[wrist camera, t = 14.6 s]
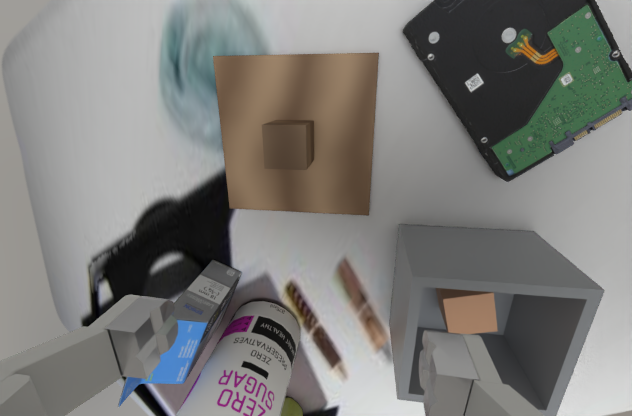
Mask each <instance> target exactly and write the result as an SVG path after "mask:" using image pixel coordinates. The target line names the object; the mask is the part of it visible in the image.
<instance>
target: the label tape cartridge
mask: <svg viewBox="0 0 632 416" xmlns="http://www.w3.org/2000/svg"><path fill="white" fill-rule="evenodd" d="M240 276H241V272H240V271H238V270H236V269H234V268H232V267H229V266H227V265H225V264H222V263H220V262H218V261H216V260H212V261H211V262H210V264H209V265H208V266H207V267H206V268H205V269H204V270H203V271H202V272H201V274H200V275H199V276H198V277H197V278H196V279H195V280H194V281H193V283H192V284H191V285H190V286H189V287H188V288H187V289H186V290H185V291H184V293H183V294H182V295H181V296H180V297H179V298H178V299H177V300H176V302H175V303H174V307H175V311H174V313H173V314H172V315H173V317H174V318H175V319H176V320H177V322H178V335H177V337H176V340H175V343H174V344H173V346H172V347H171V348H170V350H169V351H167V352H165V353H163V354H162V355H160V363H159V364H158V365H157V367H156V368H155V369H154V370H153V372H152V373H151V374H150V376H149V377H148V378H147V379H142V378H134V377H126V380H125V384H124V387H123V391H122V394H121V398H120V401H119V404H118V407H119V406H120V405H121V404H122V403H123V402H124V400H125V399H126V398H127V397H128V396H129V395H130V394H131V392H132V391H133V390H134V389H135V388H136V387H137V386H138V385H139V384H142V383H163V384H181V383H184V382H185V381H186V379H187V377H188V376H189V374H190V372H191V371H192V369H193V367H194V366H195V364H196V362H197V360H198V359H199V357H200V355H201V354H202V352H203V350H204V349H205V347H206V345H207V343H208V342H209V340H210V339H211V337H212V336H213V334H214V332H215V331H216V329H217V328H218V326H219V325H220V322H221V320H222V318H223V316H224V313H225V311H226V309H227V306H228V304H229V302H230V299H231V297H232V295H233V293H234V290H235V288H236V286H237V283H238V281H239V278H240Z"/></svg>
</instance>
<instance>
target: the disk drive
mask: <svg viewBox="0 0 632 416" xmlns="http://www.w3.org/2000/svg"><path fill="white" fill-rule="evenodd" d="M403 33H404V34H405V35H406V37H407V39H408V40H409V42H410V43H411V44H412V48H413V49H414V51H415V53H416V54H417V56H418V57H419V59H420V60H421V61H422V62H423V63H424V65H425V66H426V68H427V69H428V71H429V72H430V74H431V75H432V77H433V79H434V80H435V81H436V83H437V85H438V86H439V88H440V89H441V91H442V92H443V94H444V95H445V97H446V98H447V100H448V101H449V103H450V105H451V106H452V108H453V109H454V111H455V113H456V114H457V116H458V117H459V118H460V119H461V122H462V123H463V125H464V126H465V128H466V129H467V131H468V132H469V134H470V135H471V137H472V139H473V140H474V141H475V143H476V145H477V146H478V149H479V151H480V153H481V154H482V155H483V157H484V158H485V159H486V160H487V162H488V164H489V165H490V167H491V168H492V170H493V171H494V173H495V174H496V175H497V176H498V177H500V178H502V179H503V180H505V181H507V182H509V181H511V180H513V179H514V178H516V177H518V176H519V175H521V174H523V173H525V172H526V171H528V170H530V169H531V168H533V167H535V166H537V165H538V164H540V163H542V162H543V161H545V160H547V159H548V158H550V157H552V156H553V155H554V154H558V153H560V152H562V151H563V150H565V149H566V148H568V147H570V146H572V145H573V144H574V142H573V141H577V140H579V139H581V138H582V137H584V136H585V135H587V134H589V133H590V131H591V130H593V131H594V130H596V129H597V128H599V127H601V126H602V125H604V124H606V123H607V122H609V121H610V120H612V119H614V118H616V117H617V116H619V115H621V114H622V111H625V110H629V111H631V110H632V71H631V69H630V68H629V66H628V63H626V61H625V59H624V58H623V55H622V54H621V52H620V50H619V47H618V45H617V43H616V41H615V40H614V37H613V34H612V33H611V31H610V29H609V28H608V25H607V23H606V21H605V19H604V18H603V15H602V13H601V11H600V10H599V6H598V5H597V2H596V1H595V0H435V1H433V2H432V3H431V4H429V5H428V6H427V7H426V8H425V9H424V10H423V11H421V12H420V13H419V14H418V15H417V16H416V17H414V18H413V19H412V20H411V21H409V22H408V23H407V25H406V26H405V28H404V29H403Z"/></svg>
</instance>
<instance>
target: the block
mask: <svg viewBox="0 0 632 416" xmlns="http://www.w3.org/2000/svg"><path fill="white" fill-rule="evenodd" d="M436 292H437V298H438V304H439V308H440V311H441V314H442V317H443V320H444V323H445V326H446V329H447V332H449V333H458V334H461V333H462V334H475V333H485V332H495V331H498V330H497V320H496V310H495V301H494V293H493V292H484V291H471V290H458V289H445V288H436Z"/></svg>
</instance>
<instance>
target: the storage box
mask: <svg viewBox="0 0 632 416" xmlns="http://www.w3.org/2000/svg"><path fill="white" fill-rule="evenodd" d="M436 288H445V289H458V290H471V291H484V292H493V293H494V301H495V310H496V320H497V330H498V331H495V332H485V333H475V334H472V335H479V336H480V337H481V338H482V340H483V342H484V344H485V346H486V348H487V351H488V353H489V355H490V357H491V359H492V362H493V364H494V366H495V368H496V370H497V373H498V375H499V377H500V379H501V381H502V383H503V384H506V385H509V386H511V387H512V388H513V389H514V390H515V391H516V392H518V393H519V394H520V395H521V396H522V397H523V398H525V399H526V400H527V401H528V402H529V403H530V404H532V405H533V406H534V407H535V408H536V409H537V410H539V411H540V412H541V413H542V414H543V415H544V416H556V415H557V412H558V409H559V407H560V404H561V402H562V399H563V397H564V394H565V391H566V389H567V386H568V384H569V381H570V378H571V376H572V373H573V371H574V368H575V365H576V363H577V360H578V358H579V355H580V353H581V350H582V347H583V345H584V342H585V340H586V337H587V334H588V332H589V329H590V327H591V324H592V322H593V319H594V316H595V314H596V311H597V309H598V306H599V303H600V301H601V298H602V296H603V293H604V289H602V288H601V287H600V286H599V285H598V284H596V283H595V282H594V281H593V280H592V279H590V278H589V277H588V276H587V275H586V274H584V273H583V272H582V271H581V270H580V269H578V268H577V267H576V266H575V265H574V264H572V263H571V262H570V261H569V260H568V259H566V258H565V257H564V256H563V255H562V254H560V253H559V252H558V251H557V250H556V249H554V248H553V247H552V246H551V245H550V244H548V243H547V242H546V241H545V240H544V239H542V238H541V237H540V236H539V235H538V234H536V233H535V232H534V231H518V230H499V229H479V228H459V227H440V226H420V225H401V224H399V229H398V240H397V250H396V260H395V271H394V281H393V291H392V302H391V312H390V322H389V325H390V335H391V344H392V353H393V363H394V372H395V381H396V391H397V399H399V400H407V401H415V402H423V399H424V393H425V391H424V390H423V388H422V387H421V385H420V379H419V357H420V352H421V351H422V350H423V349H424V347H423V342H422V338H423V333H424V331H425V330H431V331H440V332H447V329H446V326H445V323H444V320H443V317H442V314H441V311H440V308H439V304H438V298H437V292H436Z"/></svg>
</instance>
